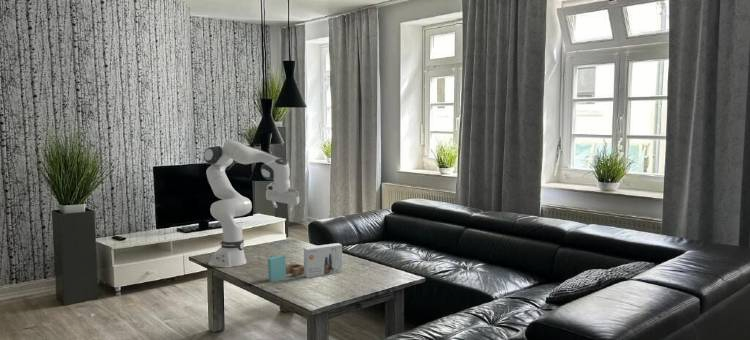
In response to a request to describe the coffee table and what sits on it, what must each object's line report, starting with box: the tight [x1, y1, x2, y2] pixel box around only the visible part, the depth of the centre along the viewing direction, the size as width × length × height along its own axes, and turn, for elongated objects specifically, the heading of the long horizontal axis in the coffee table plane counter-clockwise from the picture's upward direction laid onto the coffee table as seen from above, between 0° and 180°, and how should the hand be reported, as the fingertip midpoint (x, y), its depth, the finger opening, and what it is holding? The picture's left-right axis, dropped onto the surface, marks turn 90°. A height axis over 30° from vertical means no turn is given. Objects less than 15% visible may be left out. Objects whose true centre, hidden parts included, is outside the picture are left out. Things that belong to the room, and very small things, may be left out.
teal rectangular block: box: [267, 254, 287, 283], centre depth 310 cm, size 10×2×12 cm, turn 140°
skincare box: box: [303, 242, 343, 279], centre depth 317 cm, size 21×5×16 cm, turn 117°
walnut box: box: [286, 262, 304, 277], centre depth 321 cm, size 8×11×4 cm
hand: (282, 208), depth 335 cm, fingers open, 8 cm apart
